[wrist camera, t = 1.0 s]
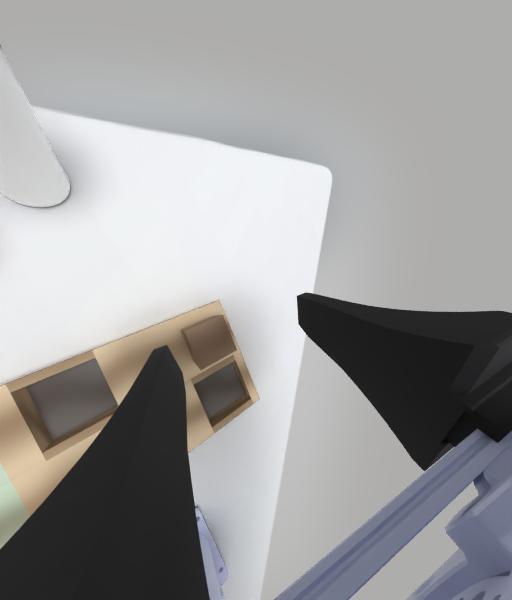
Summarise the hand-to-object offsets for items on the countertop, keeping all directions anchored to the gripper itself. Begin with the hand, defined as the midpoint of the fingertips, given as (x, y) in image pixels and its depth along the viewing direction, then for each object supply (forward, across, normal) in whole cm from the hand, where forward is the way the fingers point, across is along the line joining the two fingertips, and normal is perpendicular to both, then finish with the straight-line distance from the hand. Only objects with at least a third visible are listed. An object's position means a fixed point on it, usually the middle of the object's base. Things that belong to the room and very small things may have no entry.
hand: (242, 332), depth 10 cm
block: (+11, +3, +7) cm, 13 cm away
